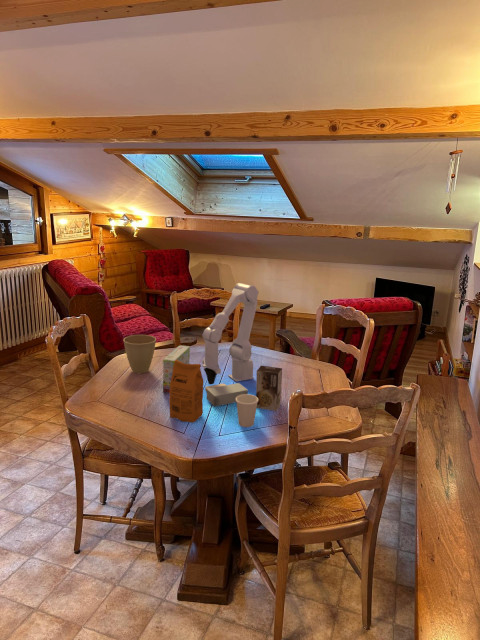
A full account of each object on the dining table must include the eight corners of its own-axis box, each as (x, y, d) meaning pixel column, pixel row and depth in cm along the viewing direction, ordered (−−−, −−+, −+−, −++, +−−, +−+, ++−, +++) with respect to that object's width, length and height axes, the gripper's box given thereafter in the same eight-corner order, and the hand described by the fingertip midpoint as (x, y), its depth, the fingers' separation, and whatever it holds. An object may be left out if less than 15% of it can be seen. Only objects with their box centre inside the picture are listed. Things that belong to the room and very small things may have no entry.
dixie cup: (259, 428, 169) (260, 402, 166) (237, 429, 167) (238, 404, 164) (254, 417, 176) (255, 393, 174) (233, 419, 175) (233, 394, 172)
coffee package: (179, 407, 183) (179, 355, 177) (206, 414, 178) (207, 360, 172) (164, 417, 174) (164, 362, 169) (192, 425, 169) (192, 369, 163)
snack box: (175, 394, 196) (174, 360, 192) (162, 392, 197) (161, 359, 193) (190, 376, 216) (190, 345, 212) (178, 375, 217) (178, 344, 213)
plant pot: (133, 379, 210) (132, 345, 206) (119, 369, 221) (118, 337, 217) (162, 372, 219) (161, 340, 215) (147, 363, 230) (146, 332, 226)
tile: (223, 387, 205) (224, 383, 204) (237, 399, 193) (237, 394, 193) (205, 391, 200) (205, 386, 200) (218, 402, 189) (218, 398, 189)
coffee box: (280, 405, 188) (283, 367, 184) (276, 411, 182) (278, 373, 178) (259, 401, 191) (261, 364, 186) (254, 407, 185) (256, 370, 181)
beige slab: (238, 392, 199) (238, 383, 197) (247, 399, 192) (247, 389, 191) (206, 398, 192) (206, 388, 190) (214, 406, 185) (214, 396, 184)
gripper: (196, 351, 206) (196, 379, 209) (210, 361, 193) (210, 391, 197) (210, 349, 209) (210, 377, 212) (225, 358, 197) (224, 388, 200)
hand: (211, 383), depth 205 cm, fingers closed
